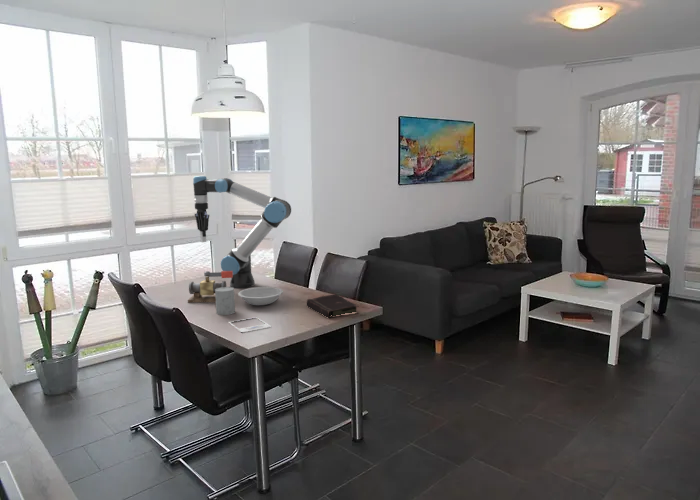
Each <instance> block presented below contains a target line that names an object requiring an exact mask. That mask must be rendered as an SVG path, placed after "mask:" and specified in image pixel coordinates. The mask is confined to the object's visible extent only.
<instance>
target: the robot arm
mask: <svg viewBox="0 0 700 500" xmlns="http://www.w3.org/2000/svg"><path fill="white" fill-rule="evenodd" d="M192 185H193V197H194V198H193V199H194V209H195V210H196V213H194V217H195V220H196V221H195V222H196V228H197V230H198V231H199V233H200V234H199V235H200V243H207V231H208V230H209V221H210V214H208V211H207V210H208V209H209V203H208V201H209V198H208V193H227V194H230V195H232V196H235V197H238V198H239V199H242V200H244V201H247V202H249V203H252V204H254V205H256V206H259V207H261V208H262V209H264V211H263V212H262V213H261V214H260V217H261V218H260V219H259V221H257V223H256V224H255V226H254V227H253V228H252V229H251V230H250V231H249V233H248V234H247V235H246V236H245V238H244V239H243V240H242V241H241V242H240V243H239V244H238V246H237V247H233V248H232V249H231V250H230V251H229V253H228V254H227V255H225V256H224V257H222V259H221V261H220V268H221V271H233V278H230V282H229V287H233V288H234V289H235V288H236V289H247V288H252V287H253V286H255V285H256V284H255V279H254V275H253V273H252V257H251V256H252V254H253V252H254V251H255V250H256V249H257V247H258V246H259V245H260V244H261V243H262V242H263V240H264V239H265V238H266V237H267V236H268V234H269V233H270V232H271V231H272V230H273V229H277V228H278V226H280V224H281V223H282V222H283V221H284V220H287V219H288V218H289V217H290V215H291V214H292V207H291V204H290V203H289V201H286V200H284V199H281V198H278V197H276V196H273V197H272V196H269V195H266V194H264V193H262V192H259V191H257V190H255V189H251V188H249V187H247V186H246V185H242V184H240V183H237V182H235V181H233V180H232V179H230V178H228V177H227V178H218V179H210V178H209V179H207V176H206V175H195V176H193V181H192Z"/></svg>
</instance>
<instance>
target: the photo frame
mask: <svg viewBox="0 0 700 500" xmlns="http://www.w3.org/2000/svg"><path fill="white" fill-rule="evenodd" d="M252 318H253V319H256V320H258V319H259V320H260V321H259V320H258V321H259V322H261V321H262V322H263V323H262V322H261V323H262V324H257V325H252V326H247V327H242V328H239V327H237V325H235V324H233V323H235V322H234V321H235V320H233V321H227V322H228V324H229V323H230V324H231V325H230V324H229V325H230V326H232V327H233V326H234V327H235V329H236V330H237V329H238V330H239V331H238V330H237V331H238V332H240V333H241V332H246V333H249V332H248V331H251V332H253V331H252V330H256V331H258V330H257V329H261V330H264V329H263V328H266V329H270V328H269V327H271V328H272V326H271V324H269V323H267V322H266V321H264V320H262V318H260V317H258V316H254V317H249V318H244V319H238V320H236V321H237V322H241V321H240V320H242V321H246V319H248V320H251V319H252ZM264 323H265V324H264ZM234 327H233V328H234Z"/></svg>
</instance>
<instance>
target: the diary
mask: <svg viewBox="0 0 700 500" xmlns="http://www.w3.org/2000/svg"><path fill="white" fill-rule="evenodd" d="M307 306H308V308H309V307H310V308H309V309H311V308H312V309H313V311H314V310H315V311H314V312H316V311H317V312H319V313H321V314H323V315H324V316H326V317H328V318H329V319H330V317H329V316H331V315H332V316H336V315H341V314H345V313H352V312H357V307H359V305H357V304H355V303H353V302H351V301H349V300H347V299H346V298H344V297H342V296H340V294H339V295H338V294H336V293H335V294H330V295H329V294H328V295H323V296H318V297H314V298H309V299H307V300H306V307H307ZM312 309H311V310H312ZM317 312H316V313H317ZM319 313H318V314H319ZM321 314H320V315H321ZM323 315H322V316H323ZM324 316H323V317H324ZM332 316H331V317H332ZM326 317H325V318H326ZM328 318H327V319H328Z"/></svg>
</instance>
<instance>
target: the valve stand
mask: <svg viewBox="0 0 700 500" xmlns="http://www.w3.org/2000/svg"><path fill="white" fill-rule="evenodd" d="M204 277H205V280H201V281H200V282H197V283H196V282H194V281H190V282H189V284H188V293H189V295H191V296H190V297H189V298H188V299H187V303H188V304H189V303H216V296H215V289H216V288H220V287H227V283H226V281H225V280H223V281H222V282H216V280H215V279H214V280H212V279H211V280H210V277H208V276H204Z"/></svg>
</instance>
